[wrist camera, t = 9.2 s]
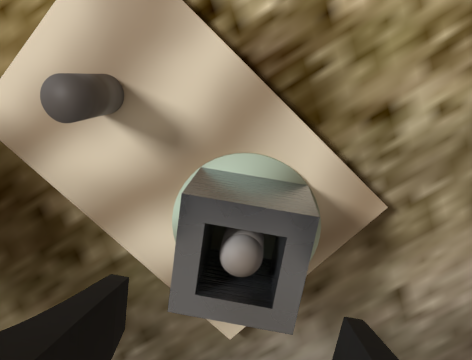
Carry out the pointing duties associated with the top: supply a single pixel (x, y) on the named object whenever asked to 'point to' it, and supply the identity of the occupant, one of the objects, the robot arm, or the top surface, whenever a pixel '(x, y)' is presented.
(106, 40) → the board
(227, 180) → the steel collar
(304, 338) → the top surface
